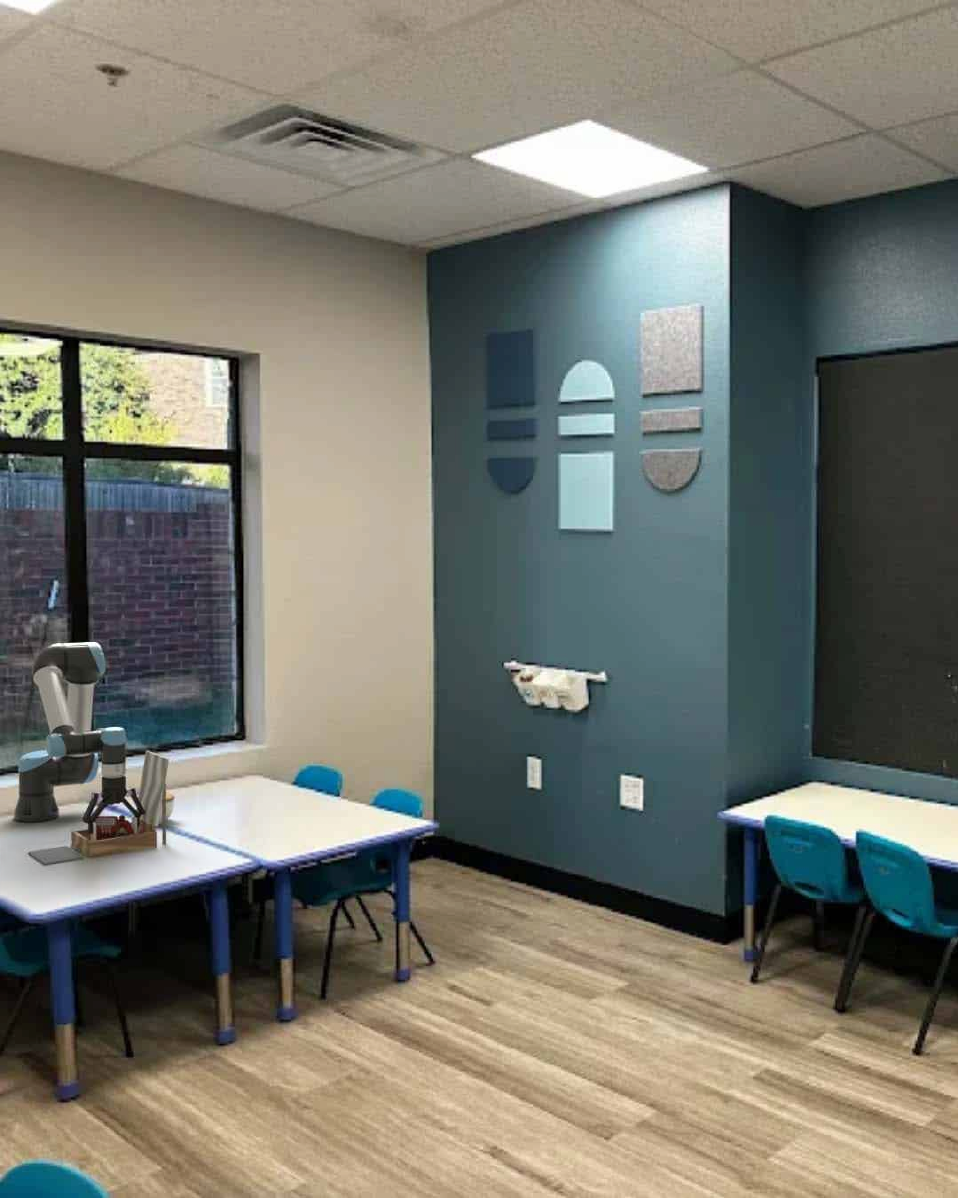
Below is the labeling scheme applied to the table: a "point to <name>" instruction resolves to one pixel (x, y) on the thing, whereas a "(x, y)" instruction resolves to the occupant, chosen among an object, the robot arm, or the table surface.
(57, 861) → the mat
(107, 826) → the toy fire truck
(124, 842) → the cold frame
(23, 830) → the table surface
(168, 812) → the lidded bowl
